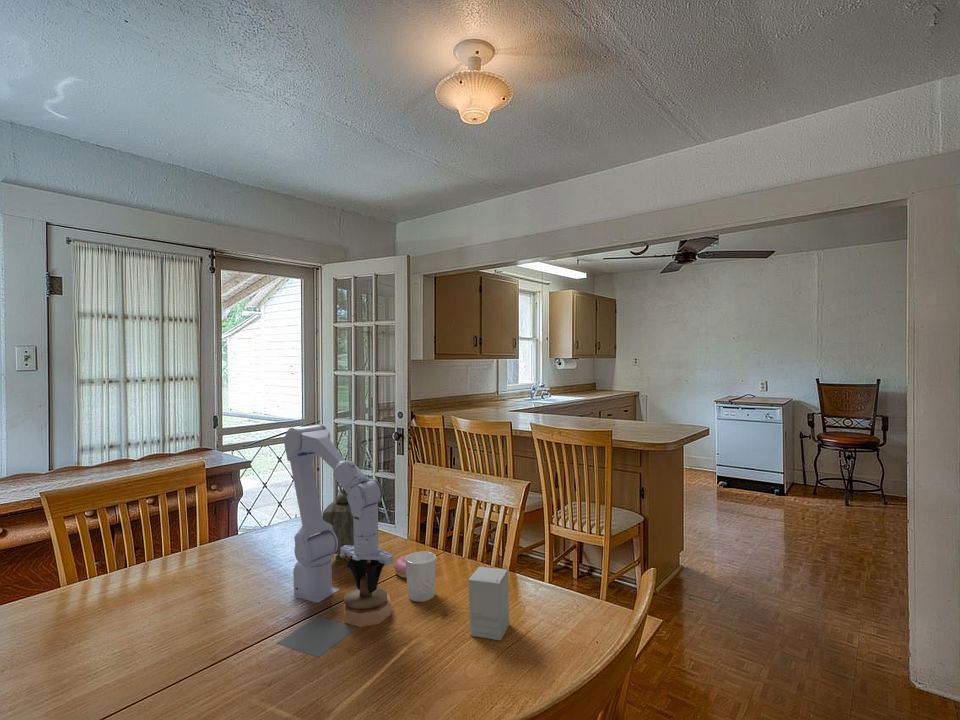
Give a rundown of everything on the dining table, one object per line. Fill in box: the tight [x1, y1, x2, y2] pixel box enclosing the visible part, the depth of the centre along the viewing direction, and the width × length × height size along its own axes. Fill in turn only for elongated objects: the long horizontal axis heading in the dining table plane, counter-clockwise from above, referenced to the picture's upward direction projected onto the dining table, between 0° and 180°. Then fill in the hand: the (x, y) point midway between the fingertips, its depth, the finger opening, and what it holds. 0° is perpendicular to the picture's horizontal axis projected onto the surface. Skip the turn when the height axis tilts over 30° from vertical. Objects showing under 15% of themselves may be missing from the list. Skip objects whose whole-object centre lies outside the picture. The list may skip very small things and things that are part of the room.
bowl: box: [343, 593, 392, 628], centre depth 119 cm, size 11×11×4 cm
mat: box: [276, 616, 358, 658], centre depth 111 cm, size 12×12×1 cm
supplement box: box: [468, 566, 510, 642], centre depth 112 cm, size 7×7×13 cm
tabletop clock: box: [322, 484, 354, 569], centre depth 153 cm, size 14×9×25 cm, turn 179°
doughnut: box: [393, 553, 410, 580], centre depth 144 cm, size 11×11×4 cm
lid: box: [343, 575, 388, 609], centre depth 119 cm, size 10×10×5 cm
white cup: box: [405, 550, 437, 603], centre depth 129 cm, size 8×8×10 cm
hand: (367, 589), depth 119 cm, fingers closed on lid, 3 cm apart
